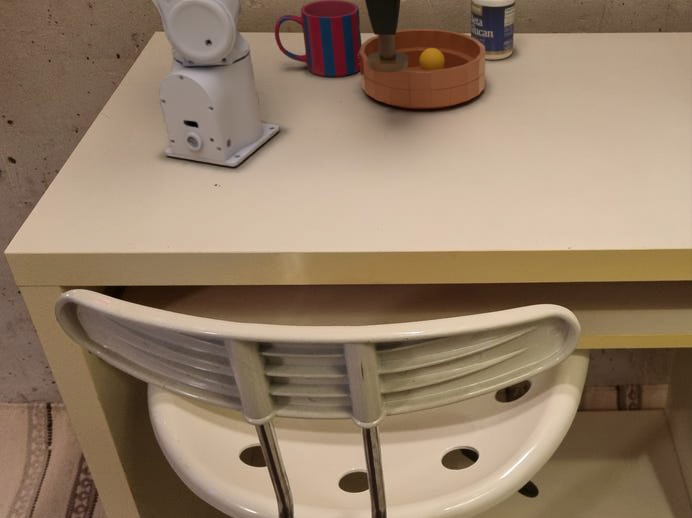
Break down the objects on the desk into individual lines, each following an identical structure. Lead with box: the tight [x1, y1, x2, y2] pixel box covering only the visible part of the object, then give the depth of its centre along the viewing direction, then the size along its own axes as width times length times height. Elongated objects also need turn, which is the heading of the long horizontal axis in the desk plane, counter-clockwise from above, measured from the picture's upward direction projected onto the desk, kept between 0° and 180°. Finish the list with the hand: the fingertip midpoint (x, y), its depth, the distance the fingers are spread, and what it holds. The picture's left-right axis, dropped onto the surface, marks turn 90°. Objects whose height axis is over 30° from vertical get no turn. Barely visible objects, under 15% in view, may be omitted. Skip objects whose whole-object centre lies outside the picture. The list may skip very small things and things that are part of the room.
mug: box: [274, 0, 362, 78], centre depth 101 cm, size 7×10×7 cm
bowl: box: [359, 28, 486, 110], centre depth 97 cm, size 14×14×4 cm
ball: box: [419, 48, 445, 71], centre depth 99 cm, size 3×3×3 cm
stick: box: [368, 35, 408, 72], centre depth 81 cm, size 4×4×9 cm
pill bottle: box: [470, 0, 516, 61], centre depth 104 cm, size 5×5×10 cm
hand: (385, 30), depth 82 cm, fingers closed on stick
